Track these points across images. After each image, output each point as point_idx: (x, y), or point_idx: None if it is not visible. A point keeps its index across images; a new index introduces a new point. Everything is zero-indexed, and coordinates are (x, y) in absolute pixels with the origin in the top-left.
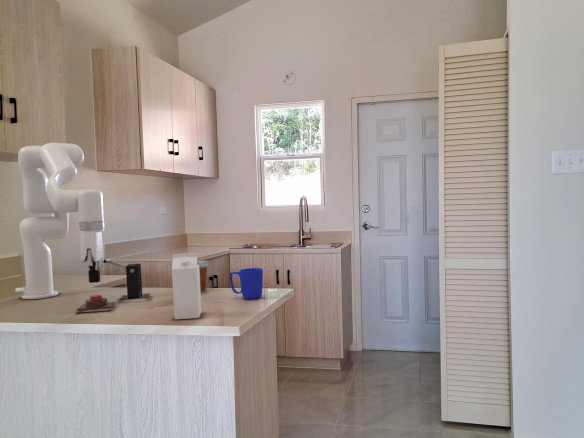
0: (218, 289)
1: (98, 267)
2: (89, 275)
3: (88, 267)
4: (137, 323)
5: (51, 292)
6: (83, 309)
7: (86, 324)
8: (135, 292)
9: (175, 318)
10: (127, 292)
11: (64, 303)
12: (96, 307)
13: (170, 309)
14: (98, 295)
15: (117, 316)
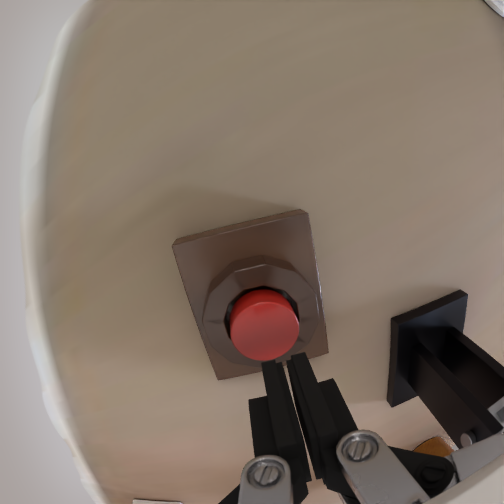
0: None
1: (340, 495)
2: (271, 411)
3: (240, 499)
4: (90, 458)
5: (501, 2)
6: (181, 274)
7: (43, 356)
8: (418, 382)
9: (133, 501)
10: (424, 359)
11: (423, 55)
12: (201, 333)
13: (235, 486)
14: (271, 344)
15: (144, 412)
